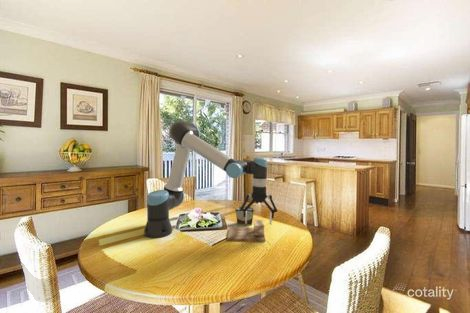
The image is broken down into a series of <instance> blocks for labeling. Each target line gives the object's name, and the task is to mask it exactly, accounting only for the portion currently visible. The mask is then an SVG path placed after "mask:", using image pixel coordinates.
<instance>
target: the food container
mask: <svg viewBox="0 0 470 313" xmlns="http://www.w3.org/2000/svg"><path fill="white" fill-rule="evenodd" d="M245 207H246V205H245V206H244V208H245ZM240 208H241V206H238V207H236V208H235V209H234V212H235V215H236V216H235V217H236V225H250V226H252V225H253V219H254V213H255V209H254V208H253V207H252V206H250V207H249V208H248V209H247V224H245V217H243V214H244V212H243V211H241V210H240Z"/></svg>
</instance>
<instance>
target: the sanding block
mask: <svg viewBox="0 0 470 313" xmlns="http://www.w3.org/2000/svg"><path fill="white" fill-rule="evenodd" d="M253 228H254V235H255V237H264V235H265V224H264V220H262V219H254V221H253Z"/></svg>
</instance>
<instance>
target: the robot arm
mask: <svg viewBox="0 0 470 313" xmlns="http://www.w3.org/2000/svg"><path fill="white" fill-rule="evenodd" d="M169 136H170V138H171V139H172V140H173V141H174V144H175V146H176V147H175V152H174V156H173V160H172V164H171V167H170V173H169V176H168V181H167V183H166V184H164V186H163V189H158V190H153V191H151V192H149V193H148V194H147V196H146V207H147V208H146V211H147V212H146V213H147V214H146V216H147V217H146V218H147V220H146V224H145V228H144V234H143V235H144V236H145V237H146V238H153V239H156V238H164V237H167V236H169V235H171V234H172V233H173V226H172V224H171V221H170V220H171V219H170V213H169V212H170V211H171V210H173V209H175V208H177V207H179V206H180V205H181V204H182V203H183V202H184V199H185V193H184V187H183V182H184V178H185V173H186V170H187V166H188V162H189V159H190V155H191V151H193V152H194V153H196V154H197V155H199V156H201V157H203V158H204V159H205V160H207V161H208V162H210V163H211V164H213V165H214V166H216V167H218V168H219V169H220V170H222V171H224V172H225V173H226V174H227V176H228V177H229V178H231V179H237V178H239V177H241V176H243V175H252V190H251V191H252V192H251V194H250V193H246V197H245V199H244V200H243V202H242V204H241V206H240V207H241V208H240V210H241V211H243V212H244V214H243V217H245V224H247V209H248V208H249V207H252V205H253V204H255V203H257V204H258V203H260V204H262V203H263V204H265V206H266V207H267V208H268V209H269V225H270V226H271V225H272V221H273V220H272V219H274V214H275V213H277V212H278V209H277V207H276V205H275V203H274V200H273V195H272V194H270V193H269V194H267V181H268V180H267V179H268V176H267V174H268V160H267V158H265V157H253V160H241V159H240V160H239V159H238V160H237V159H236V160H235V159H233V158H232V157H230V156H229V155H227V154H226V153H224V152H222V151H221V150H220V149H218V148H216V147H214V146H213V145H212V144H210V143H208V142H206V141H205V140H203V139H202V138H200V137H201V131H200V128H199V127H198V125H196V124H194V123H192V122H186V121H180V120H179V121H176V122H174V123H172V125H171V126H170V128H169ZM250 198H252V199H251V201H250V202H249V203H248V200H249V199H250ZM267 198H268V200H269V202H270V203H271V205H270V204H269V203H268V201H267V200H266V199H267ZM246 204H247V205H246ZM244 206H245V208H244Z"/></svg>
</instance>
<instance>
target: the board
mask: <svg viewBox="0 0 470 313" xmlns="http://www.w3.org/2000/svg"><path fill="white" fill-rule="evenodd" d="M226 241H234V242H261V243H262V242H266V235H265V234H264V237H255V235H254V227H234V226H233V227H229V228H228V233H227V240H226Z"/></svg>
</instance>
